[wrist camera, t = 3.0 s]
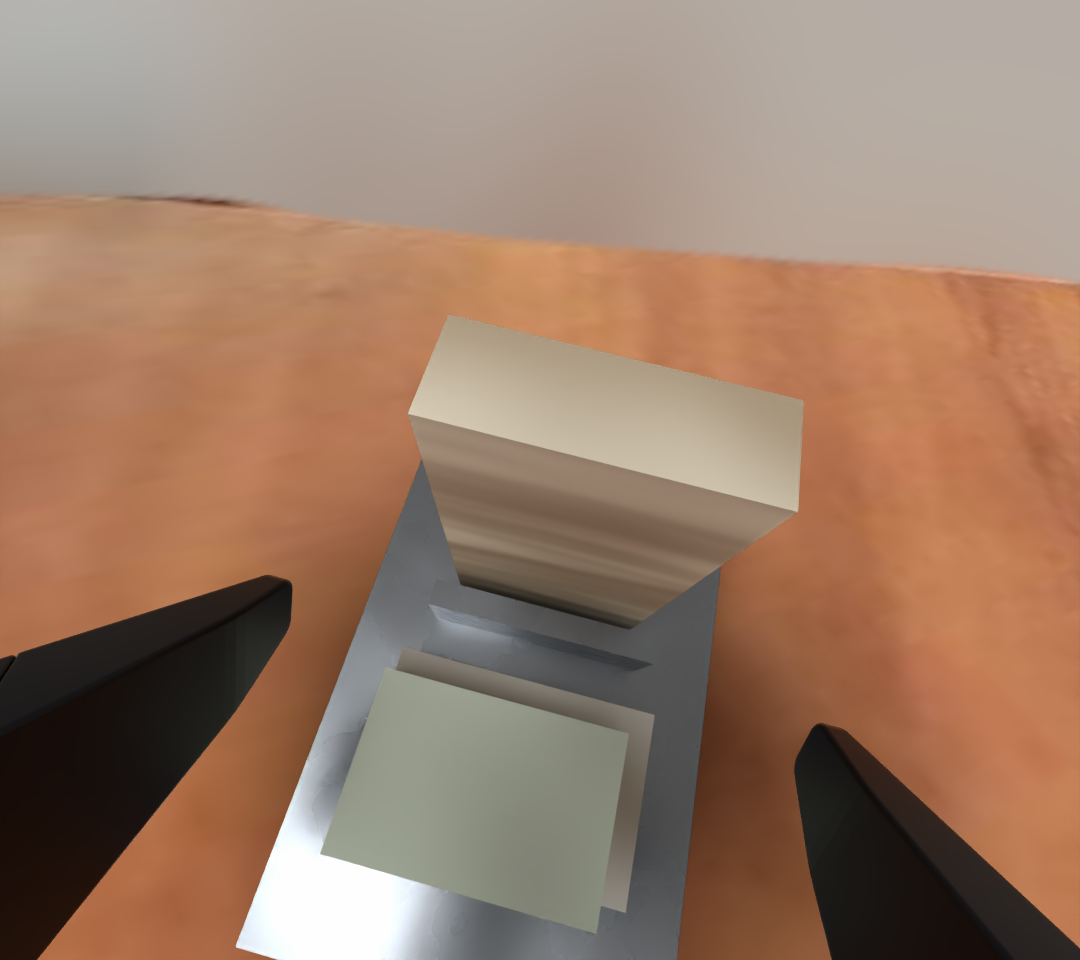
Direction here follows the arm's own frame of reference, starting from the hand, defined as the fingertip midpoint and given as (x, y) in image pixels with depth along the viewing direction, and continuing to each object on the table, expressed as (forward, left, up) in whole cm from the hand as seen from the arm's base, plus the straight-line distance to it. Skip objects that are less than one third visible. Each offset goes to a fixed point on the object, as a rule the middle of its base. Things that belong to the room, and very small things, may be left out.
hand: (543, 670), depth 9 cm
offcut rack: (0, 0, -11) cm, 11 cm away
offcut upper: (-2, +2, -8) cm, 9 cm away
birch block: (+3, -2, -10) cm, 10 cm away
